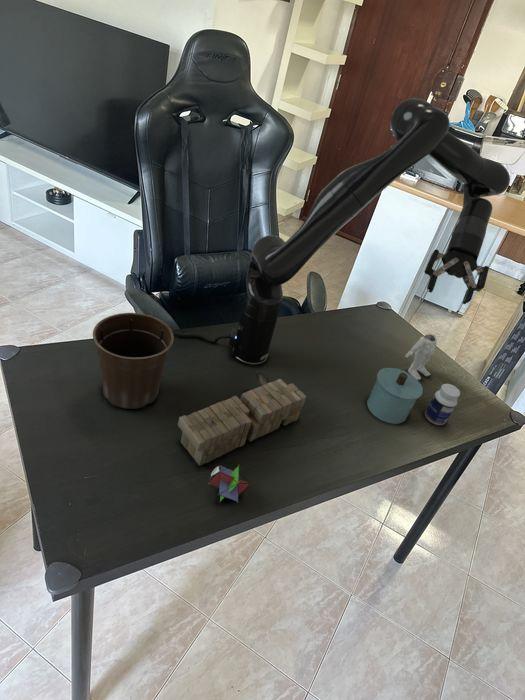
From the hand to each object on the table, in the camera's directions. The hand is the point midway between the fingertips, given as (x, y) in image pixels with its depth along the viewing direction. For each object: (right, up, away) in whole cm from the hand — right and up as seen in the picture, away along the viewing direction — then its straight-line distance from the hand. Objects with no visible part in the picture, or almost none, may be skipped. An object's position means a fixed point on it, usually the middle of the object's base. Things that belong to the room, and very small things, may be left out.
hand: (447, 297), depth 118 cm
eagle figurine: (-45, -25, -1) cm, 51 cm away
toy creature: (-1, -20, +23) cm, 30 cm away
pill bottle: (-1, -31, +8) cm, 32 cm away
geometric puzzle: (-52, -41, -25) cm, 71 cm away
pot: (-13, -28, +6) cm, 32 cm away
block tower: (-50, -31, -11) cm, 60 cm away
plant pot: (-75, -22, -8) cm, 79 cm away
